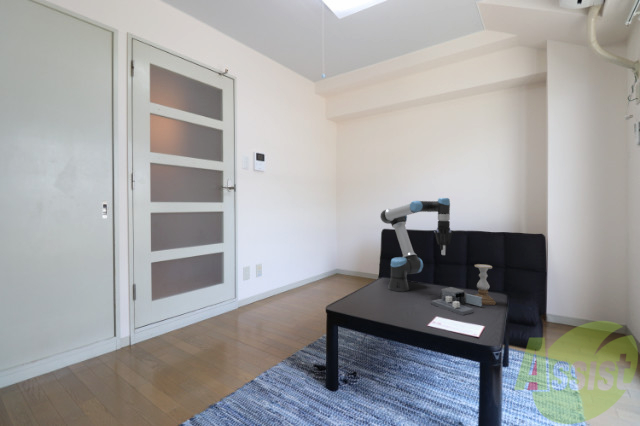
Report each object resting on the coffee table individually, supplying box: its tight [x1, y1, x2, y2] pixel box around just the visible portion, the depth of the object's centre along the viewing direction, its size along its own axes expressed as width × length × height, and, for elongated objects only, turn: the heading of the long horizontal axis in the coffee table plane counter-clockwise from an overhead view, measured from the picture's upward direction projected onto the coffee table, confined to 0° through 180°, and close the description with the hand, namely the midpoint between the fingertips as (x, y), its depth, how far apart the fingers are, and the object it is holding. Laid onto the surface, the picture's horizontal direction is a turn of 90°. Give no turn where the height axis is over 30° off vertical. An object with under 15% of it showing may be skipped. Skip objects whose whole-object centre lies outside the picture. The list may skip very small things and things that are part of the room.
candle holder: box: [473, 263, 496, 306], centre depth 188 cm, size 11×11×24 cm
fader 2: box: [453, 301, 461, 308], centre depth 171 cm, size 2×3×3 cm
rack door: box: [464, 292, 483, 307], centre depth 181 cm, size 3×10×7 cm, turn 40°
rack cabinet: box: [440, 286, 466, 305], centre depth 187 cm, size 10×10×8 cm
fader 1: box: [446, 296, 452, 302], centre depth 181 cm, size 2×3×3 cm
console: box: [430, 298, 474, 316], centre depth 176 cm, size 22×10×2 cm, turn 29°
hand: (443, 254), depth 197 cm, fingers closed
